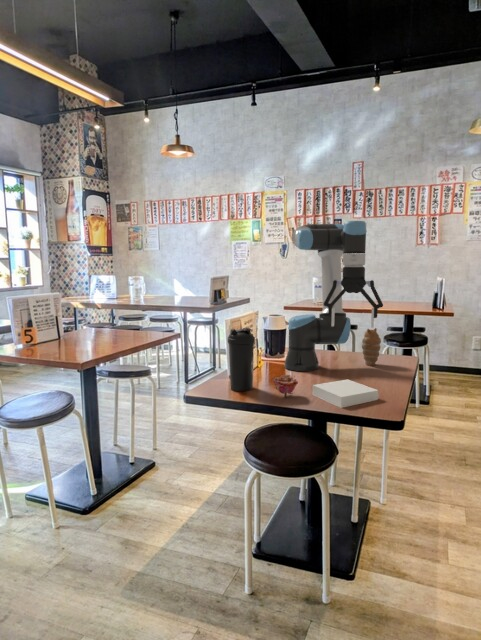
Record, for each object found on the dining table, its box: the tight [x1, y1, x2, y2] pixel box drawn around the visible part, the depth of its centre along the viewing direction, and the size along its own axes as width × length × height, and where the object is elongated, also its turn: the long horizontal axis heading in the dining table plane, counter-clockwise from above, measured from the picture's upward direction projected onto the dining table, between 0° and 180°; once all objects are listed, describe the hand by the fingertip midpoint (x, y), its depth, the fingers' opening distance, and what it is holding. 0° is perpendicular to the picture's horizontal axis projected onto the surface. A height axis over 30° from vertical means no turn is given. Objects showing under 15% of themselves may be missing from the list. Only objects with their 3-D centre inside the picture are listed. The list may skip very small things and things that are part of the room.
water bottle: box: [227, 327, 256, 392], centre depth 172 cm, size 10×10×23 cm
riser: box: [312, 378, 379, 409], centre depth 159 cm, size 16×16×4 cm
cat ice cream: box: [361, 327, 382, 367], centre depth 201 cm, size 9×8×18 cm
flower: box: [272, 373, 299, 398], centre depth 161 cm, size 10×9×8 cm
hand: (352, 326), depth 160 cm, fingers open, 13 cm apart
